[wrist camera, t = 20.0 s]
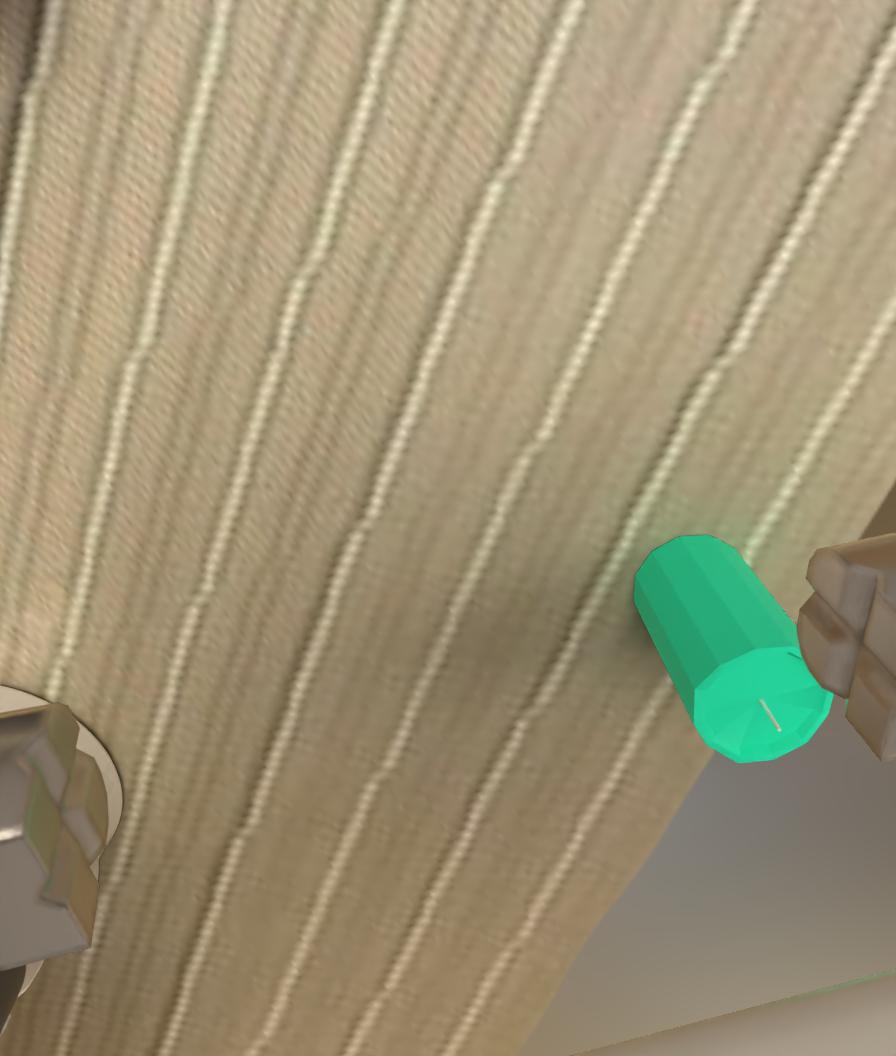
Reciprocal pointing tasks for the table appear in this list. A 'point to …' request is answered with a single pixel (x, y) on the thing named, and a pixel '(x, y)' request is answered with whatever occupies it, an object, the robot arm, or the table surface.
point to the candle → (728, 650)
